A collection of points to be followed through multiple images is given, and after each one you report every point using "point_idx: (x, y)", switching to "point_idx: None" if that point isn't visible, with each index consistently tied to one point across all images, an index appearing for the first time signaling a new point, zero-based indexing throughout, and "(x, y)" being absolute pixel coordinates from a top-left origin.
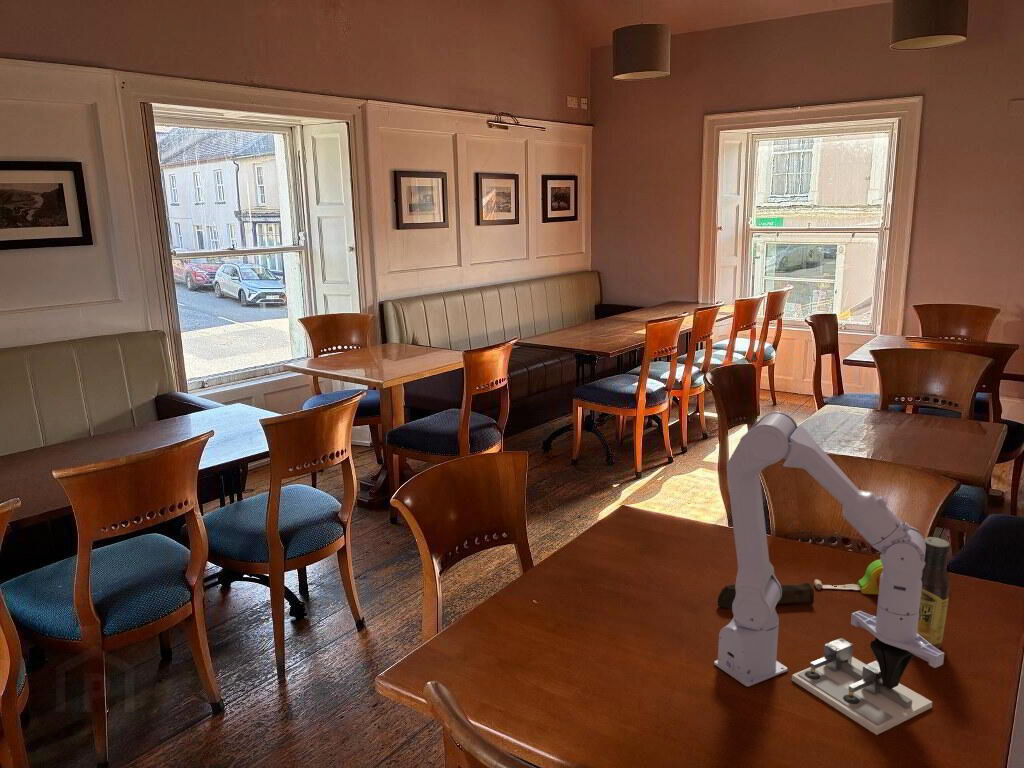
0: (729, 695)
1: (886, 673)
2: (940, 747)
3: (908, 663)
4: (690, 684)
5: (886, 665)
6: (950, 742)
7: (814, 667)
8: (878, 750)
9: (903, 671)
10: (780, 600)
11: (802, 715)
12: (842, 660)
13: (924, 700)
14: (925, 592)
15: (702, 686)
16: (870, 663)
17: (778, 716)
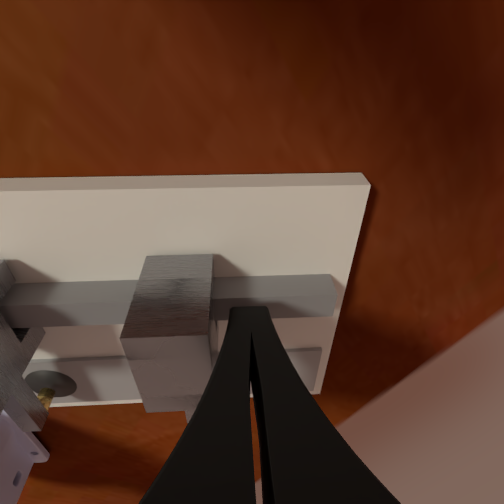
0: (69, 473)
1: (256, 418)
2: (452, 309)
3: (322, 414)
4: None
5: (261, 473)
6: (472, 275)
7: (45, 419)
8: (345, 399)
9: (291, 365)
10: None
11: (180, 430)
12: (12, 337)
13: (342, 204)
14: None
15: (27, 486)
16: (140, 386)
17: (163, 452)
